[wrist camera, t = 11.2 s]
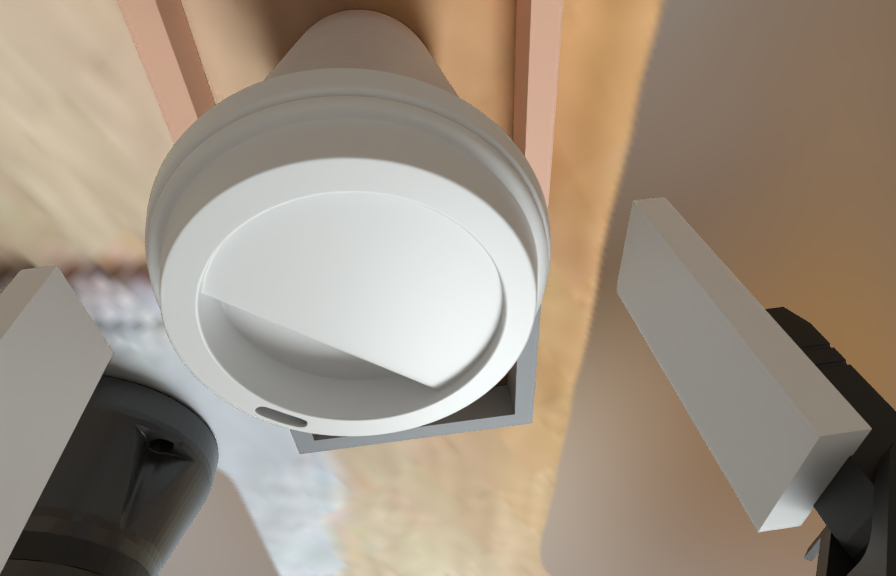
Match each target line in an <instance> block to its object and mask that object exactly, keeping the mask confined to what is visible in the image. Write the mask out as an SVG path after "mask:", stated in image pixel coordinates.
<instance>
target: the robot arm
mask: <svg viewBox="0 0 896 576" xmlns="http://www.w3.org/2000/svg"><path fill="white" fill-rule="evenodd" d="M616 291H617V293H618V295H619V296H620V298H621V300H622V301H623V303H624V305H625V307H626V308H627V310H628V312H629V314H630V315H631V317H632V319H633V320H634V322H635V324H636V325H637V327H638V329H639V331H640V332H641V334H642V336H643V337H644V339H645V341H646V342H647V344H648V346H649V347H650V349H651V351H652V353H653V354H654V356H655V358H656V359H657V361H658V363H659V365H660V366H661V368H662V369H663V371H664V373H665V375H666V376H667V378H668V380H669V382H670V383H671V385H672V387H673V388H674V390H675V392H676V394H677V395H678V397H679V398H680V400H681V402H682V404H683V405H684V407H685V409H686V411H687V412H688V414H689V416H690V417H691V419H692V421H693V422H694V424H695V426H696V428H697V429H698V431H699V432H700V434H701V436H702V438H703V439H704V441H705V443H706V444H707V446H708V448H709V450H710V451H711V453H712V455H713V456H714V458H715V460H716V462H717V463H718V465H719V467H720V468H721V470H722V472H723V473H724V475H725V477H726V479H727V480H728V482H729V484H730V485H731V487H732V489H733V491H734V492H735V494H736V496H737V497H738V499H739V501H740V502H741V504H742V506H743V507H744V509H745V511H746V513H747V514H748V516H749V518H750V519H751V521H752V523H753V525H754V526H755V528H756V530H757V531H758V532H762V531H769V530H776V529H782V528H789V527H795V526H801V524H802V523H803V522H804V520H805V519H806V517H807V516H808V515H809V513H810V512H811V511H812V509H813V508H815V509H816V510H817V512H818V514H819V515H820V516H821V518H822V519H823V521H824V522H825V524H826V525H827V526H826V527H825V528H824V529H823V531H822V532H821V533H820V534H819V536H818V537H817V538H816V539H815V540H814V542H813V543H812V544H811V546H810V547H809V548H808V550H807V553H806V555H805V557H804V558H805V559H807V560H809V561H812V560H813V559H814V558H815V556H816V555H817V554H818V553H819V556H818V564H817V572H816V576H896V411H895V410H894V409H893V408H892V407H891V406H890V405H889V404H888V403H887V402H886V401H885V400H884V399H883V398H882V397H881V396H880V395H879V394H878V393H877V392H876V391H875V390H874V388H872V387H871V385H870V384H869V383H868V382H867V381H866V380H865V379H864V378H863V377H862V376H861V375H860V374H859V373H858V372H857V371H856V370H855V369H854V368H853V367H852V366H851V365H847V364H846V360H845V359H844V358H843V357H842V355H841V354H840V353H839V352H838V351H836V349H835V348H831V347H830V343H829V342H828V341H827V340H826V339H825V338H824V337H823V336H822V335H821V334H820V333H819V332H818V331H817V330H816V329H815V328H814V327H813V326H812V324H810V323H809V322H807V321H806V320H804V319H803V318H801V317H799V316H797V315H796V314H794V313H793V312H791V311H789V310H788V309H786V308H784V307H780V308H771V309H764V308H763V307H762V305H761V304H760V303H759V302H758V301H757V300H756V299H755V298H754V296H753V295H752V294H751V293H750V292H749V291H748V290H747V289H746V288H745V286H744V285H743V284H742V283H741V282H740V281H739V280H738V279H737V278H736V276H735V275H734V274H733V273H732V272H731V271H730V270H729V269H728V268H727V267H726V265H725V264H724V263H723V262H722V261H721V260H720V259H719V257H718V256H717V255H716V254H715V253H714V252H713V251H712V250H711V249H710V248H709V246H708V245H707V244H706V243H705V242H704V241H703V240H702V239H701V237H700V236H699V235H698V234H697V233H696V232H695V231H694V230H693V229H692V227H691V226H690V225H689V224H688V223H687V222H686V221H685V220H684V218H682V216H681V215H680V214H679V213H678V212H677V211H676V210H675V208H674V207H673V206H672V205H671V204H670V203H669V202H668V201H667V200H666V198H665V197H661V198H652V199H644V200H634V201H633V203H632V209H631V214H630V219H629V225H628V231H627V236H626V241H625V246H624V251H623V257H622V262H621V267H620V273H619V278H618V283H617V289H616ZM113 353H114V352H113V351H112V349H111V348H110V346H109V345H108V343H107V342H106V340H105V339H104V337H103V336H102V334H101V332H100V331H99V329H98V328H97V326H96V325H95V323H94V322H93V320H92V319H91V317H90V315H89V314H88V312H87V311H86V309H85V308H84V306H83V305H82V303H81V302H80V300H79V299H78V297H77V295H76V294H75V292H74V291H73V289H72V288H71V286H70V285H69V283H68V282H67V280H66V278H65V277H64V275H63V274H62V272H61V271H60V269H59V268H58V266H49V267H40V268H32V269H23V270H20V272H19V273H18V274H17V275H16V276H15V278H14V279H13V280H12V281H11V282H10V283H9V285H8V286H7V287H6V288H5V289H4V291H3V292H2V293H1V294H0V576H158V574H159V572H160V571H161V569H162V568H163V566H164V565H165V563H166V562H167V560H168V559H169V557H170V555H171V554H172V552H173V551H174V549H175V548H176V546H177V545H178V543H179V541H180V540H181V538H182V537H183V535H184V534H185V532H186V531H187V529H188V527H189V526H190V524H191V523H192V521H193V520H194V518H195V517H196V515H197V513H198V512H199V510H200V509H201V507H202V506H203V504H204V503H205V501H206V499H207V497H208V495H209V492H210V490H211V486H212V483H213V479H214V475H215V471H216V467H217V463H218V447H217V444H216V441H215V439H214V437H213V435H212V433H211V432H210V430H209V429H208V427H207V426H206V425H205V424H204V423H203V421H202V420H201V419H200V418H199V417H197V416H196V415H195V414H194V413H193V412H191V411H190V410H189V409H188V408H186V407H185V406H183V405H182V404H180V403H178V402H177V401H175V400H173V399H171V398H169V397H168V396H166V395H163V394H161V393H159V392H157V391H154V390H152V389H149V388H147V387H144V386H141V385H138V384H135V383H132V382H128V381H124V380H120V379H116V378H111V377H106V376H102V374H103V372H104V370H105V368H106V366H107V365H108V363H109V361H110V359H111V357H112V355H113Z"/></svg>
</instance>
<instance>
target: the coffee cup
mask: <svg viewBox="0 0 896 576" xmlns="http://www.w3.org/2000/svg"><path fill="white" fill-rule="evenodd" d="M145 251H146V260H147V266H148V271H149V276H150V281H151V285H152V288H153V292H154V295H155V298H156V300H157V303H158V305H159V307H160V310H161V314H162V319H163V323H164V326H165V329H166V332H167V335H168V337H169V339H170V341H171V343H172V345H173V347H174V349H175V351H176V353H177V354H178V356H179V357H180V359H181V360H182V362H183V363H184V364H185V366H186V367H187V368H188V369H189V370H190V372H191V373H192V374H193V375H194V376H195V377H196V378H197V379H198V380H199V381H200V382H201V383H202V384H203V385H204V386H205V387H207V388H208V389H209V390H210V391H211V392H213V393H214V394H215V395H217V396H218V397H220V398H221V399H222V400H224V401H225V402H227V403H229V404H230V405H232V406H234V407H235V408H237V409H239V410H241V411H243V412H245V413H247V414H249V415H251V416H253V417H256V418H258V419H261V420H263V421H266V422H269V423H271V424H274V425H278V426H281V427H284V428H288V429H292V430H297V431H301V432H307V433H313V434H320V435H330V436H370V435H380V434H388V433H394V432H399V431H404V430H408V429H412V428H416V427H419V426H423V425H426V424H429V423H432V422H434V421H437V420H440V419H442V418H444V417H447V416H449V415H451V414H453V413H455V412H457V411H459V410H461V409H463V408H464V407H466V406H468V405H469V404H471V403H473V402H474V401H476V400H477V399H479V398H480V397H481V396H483V395H484V394H485V393H487V392H488V391H489V390H490V389H491V388H493V387H494V386H495V385H496V384H497V383H498V382H499V381H500V380H501V379H502V378H503V377H504V376H505V375H506V374H507V373H508V371H509V370H510V369H511V368H512V366H513V365H514V364H515V362H516V361H517V359H518V358H519V356H520V355H521V353H522V351H523V350H524V348H525V346H526V344H527V341H528V339H529V337H530V334H531V331H532V328H533V324H534V320H535V316H536V314H537V312H538V309H539V307H540V304H541V301H542V298H543V295H544V291H545V287H546V283H547V278H548V273H549V267H550V256H551V243H550V222H549V215H548V210H547V205H546V201H545V198H544V195H543V192H542V189H541V186H540V184H539V181H538V179H537V177H536V175H535V173H534V171H533V169H532V167H531V166H530V164H529V162H528V161H527V159H526V158H525V156H524V155H523V153H522V152H521V150H520V149H519V148H518V147H517V145H516V144H515V143H514V142H513V141H512V139H511V138H510V137H509V136H508V135H507V134H506V133H505V132H504V131H503V130H502V129H501V128H500V127H499V126H498V125H497V124H496V123H495V122H493V121H492V120H491V119H490V118H489V117H487V116H486V115H485V114H484V113H482V112H481V111H479V110H478V109H477V108H475V107H474V106H472V105H471V104H469V103H467V102H466V101H464V100H462V99H461V98H459V96H458V95H457V93H456V92H455V90H454V89H453V87H452V86H451V84H450V83H449V81H448V80H447V78H446V77H445V75H444V74H443V72H442V71H441V69H440V68H439V66H438V65H437V63H436V62H435V60H434V59H433V57H432V56H431V54H430V53H429V51H428V50H427V48H426V47H425V45H424V44H423V43H422V41H421V40H420V39H419V38H418V37H417V35H416V34H415V33H414V32H413V31H411V30H410V29H409V28H408V27H407V26H405V25H404V24H403V23H401V22H399V21H398V20H396V19H394V18H392V17H390V16H388V15H385V14H382V13H379V12H375V11H370V10H361V9H356V10H346V11H341V12H337V13H334V14H331V15H329V16H327V17H325V18H323V19H321V20H319V21H318V22H316V23H315V24H314V25H312V26H311V27H310V28H309V29H308V30H307V31H306V32H305V33H304V34H303V35H302V36H301V38H300V39H299V40H298V41H297V42H296V43H295V45H294V46H293V47H292V48H291V49H290V50H289V52H288V53H287V54H286V55H285V56H284V57H283V59H282V60H281V61H280V62H279V63H278V65H277V66H276V67H275V68H274V69H273V70H272V71H271V73H270V74H269V75H268V76H267V77H266V78H265V80H264V81H262V82H260V83H257V84H255V85H252V86H250V87H247V88H245V89H243V90H241V91H239V92H237V93H235V94H233V95H231V96H229V97H228V98H226V99H224V100H223V101H221V102H220V103H218V104H217V105H215V106H214V107H212V108H211V109H209V110H208V111H207V112H205V113H204V114H203V115H202V116H201V117H199V118H198V119H197V120H196V121H195V122H194V123H193V124H192V125H191V126H190V127H189V128H188V129H187V130H186V131H185V132H184V133H183V134H182V135H181V137H180V138H179V139H178V140H177V142H176V143H175V144H174V145H173V147H172V148H171V150H170V151H169V153H168V154H167V156H166V158H165V159H164V161H163V163H162V165H161V167H160V169H159V171H158V173H157V176H156V178H155V181H154V184H153V187H152V190H151V194H150V198H149V203H148V208H147V217H146V229H145Z"/></svg>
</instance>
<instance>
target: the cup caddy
mask: <svg viewBox="0 0 896 576" xmlns="http://www.w3.org/2000/svg"><path fill="white" fill-rule="evenodd" d="M117 1H118V3H119V6H120V8H121V11H122V13H123V16H124V18H125V21H126V23H127V26H128V28H129V31H130V33H131V36H132V38H133V41H134V43H135V46H136V48H137V50H138V53H139V55H140V58H141V60H142V63H143V65H144V68H145V70H146V73H147V75H148V78H149V80H150V83H151V85H152V88H153V90H154V93H155V95H156V98H157V100H158V103H159V105H160V108H161V110H162V113H163V115H164V118H165V120H166V123H167V125H168V128H169V130H170V133H171V135H172V138H173V140H174V143H176V142H177V140H178V139H179V138H180V137H181V135H182V134H183V133H184V132H185V131H186V130H187V129H188V128H189V127H190V126H191V125H192V124H193V123H194V122H195V121H196V120H197V119H198V118H199V117H201V116H202V115H203V114H204V113H205V112H207V111H208V110H209V109H211V108H212V107H214V106H215V103H214V100H213V97H212V94H211V91H210V88H209V85H208V82H207V79H206V76H205V73H204V70H203V67H202V64H201V61H200V58H199V55H198V52H197V49H196V46H195V43H194V40H193V37H192V34H191V31H190V28H189V25H188V22H187V19H186V16H185V13H184V10H183V7H182V4H181V1H180V0H117ZM563 1H564V0H516V32H515V74H514V116H513V142H514V143H515V144H516V145H517V147H518V148H519V149H520V150H521V152H522V153H523V155H524V156H525V158H526V159H527V161H528V162H529V164H530V166H531V167H532V169H533V171H534V173H535V175H536V177H537V179H538V181H539V184H540V186H541V189H542V192H543V195H544V198H545V201H546V205H547V210H548V203H549V190H550V176H551V163H552V149H553V136H554V122H555V109H556V95H557V82H558V68H559V55H560V42H561V28H562V15H563ZM540 311H541V304H540V307H539V309H538V312H537V314H536V316H535V320H534V324H533V328H532V331H531V334H530V337H529V339H528V341H527V344H526V346H525V348H524V350H523V351H522V353H521V355H520V356H519V358H518V359H517V361H516V362H515V364H514V365H513V366H512V368H511V369H510V370H509V371H508V373H507V385H504V386H496V387H493V388H491V389H490V390H489V391H488V392H487V393H485V394H484V395H483V396H481V397H480V398H479V399H477V400H476V401H474V402H473V403H471V404H469V405H468V406H466V407H464V408H463V409H461V410H459V411H457V412H455V413H453V414H451V415H449V416H447V417H444V418H442V419H440V420H437V421H434V422H432V423H429V424H426V425H423V426H419V427H416V428H412V429H408V430H404V431H399V432H394V433H388V434H380V435H370V436H330V435H320V434H313V433H307V432H301V431H297V430H292V429H290V431H291V434H292V436H293V439H294V441H295V444H296V446H297V448H298V451H299V453H300V454H304V453H312V452H319V451H327V450H334V449H342V448H349V447H357V446H365V445H372V444H380V443H387V442H395V441H402V440H410V439H417V438H425V437H432V436H440V435H447V434H455V433H462V432H470V431H477V430H485V429H493V428H500V427H508V426H515V425H523V424H530V423H532V418H533V405H534V391H535V378H536V365H537V351H538V338H539V324H540Z"/></svg>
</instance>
